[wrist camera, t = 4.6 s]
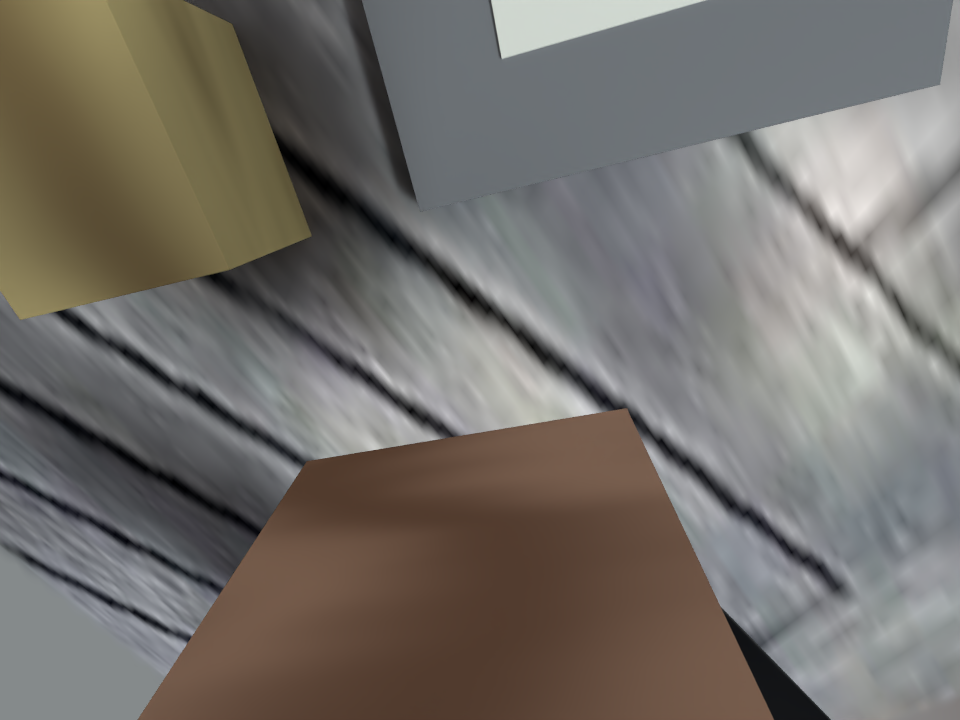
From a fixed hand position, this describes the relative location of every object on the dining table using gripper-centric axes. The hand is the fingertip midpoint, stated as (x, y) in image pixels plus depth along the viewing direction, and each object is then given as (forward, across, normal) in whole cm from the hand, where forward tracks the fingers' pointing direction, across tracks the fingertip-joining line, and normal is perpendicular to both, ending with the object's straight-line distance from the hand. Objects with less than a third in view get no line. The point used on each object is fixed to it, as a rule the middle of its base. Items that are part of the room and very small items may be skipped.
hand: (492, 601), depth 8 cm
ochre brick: (+9, +8, -9) cm, 16 cm away
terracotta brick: (+1, 0, 0) cm, 1 cm away
